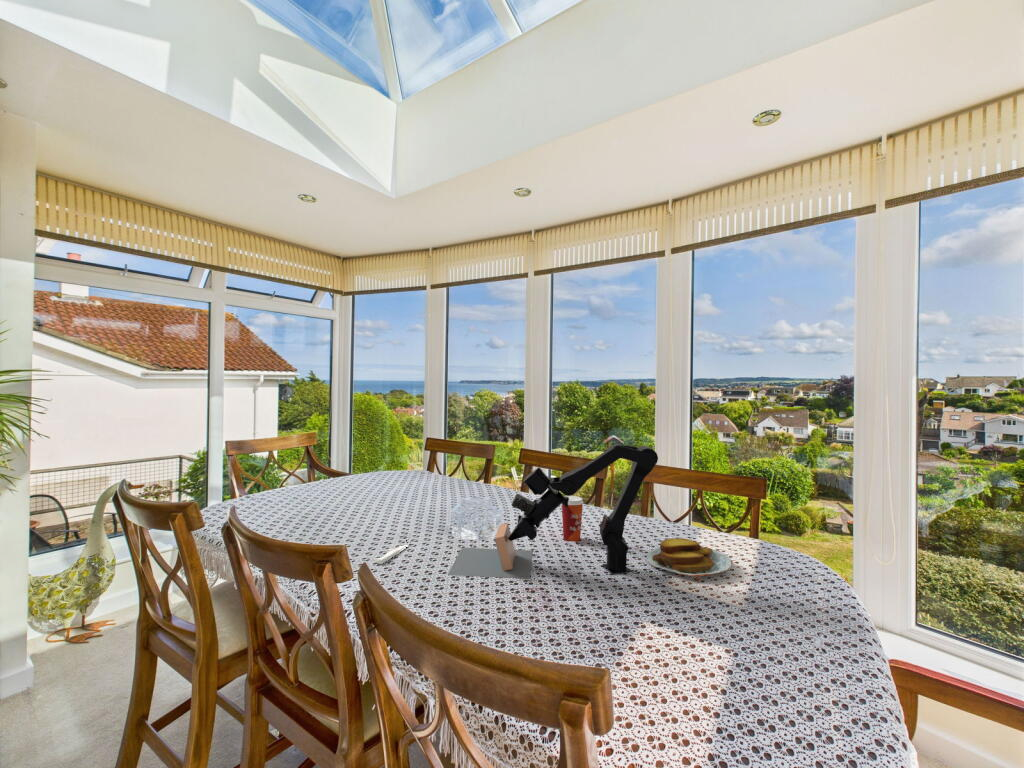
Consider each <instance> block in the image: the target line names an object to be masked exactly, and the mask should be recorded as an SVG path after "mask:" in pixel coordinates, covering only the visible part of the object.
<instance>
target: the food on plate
mask: <svg viewBox="0 0 1024 768" xmlns="http://www.w3.org/2000/svg"><path fill="white" fill-rule="evenodd" d="M645 556H646V560H647V563H649V564H650V565H652V566H653V567H654V568H655V567H657V568H659V569H661V570H666V571H669V572H673V573H676V574H679V575H681V576H682V575H683V576H688V577H690V578H691V577H696V579H695V581H697V582H700V578H701V577H706V576H713V575H715V574H718V573H720V574H721V573H723V572H726V574H728V570H729V569H730V568H732V567H733V566H734V564H733V560H731V558H730V557H729V556H728V554H724V553H723V552H720V551H717V549H713V548H710V547H704V546H701V545H700V543H699V542H697V541H695V540H691V539H688V538H678V537H674V538H666V539H664V540H662V541H661V542H660V544H659V546H657V547H654V548H652V549H650V550H649V551H648V552H647V553H646V555H645ZM665 567H666V568H665Z"/></svg>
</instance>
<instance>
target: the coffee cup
mask: <svg viewBox="0 0 1024 768" xmlns="http://www.w3.org/2000/svg"><path fill="white" fill-rule="evenodd" d="M564 496H565V497H569V500H568V507H566V506H565V505H564V504H563V503H562V504H561V514H562V515H561V516H562V517H561V518H562V535H563V541H564V542H575V543H578V542H580V541H581V534H582V532H581V531H582V522H583V521H582V519H583V505H584V503H585V502H584V501H583V497H581V496H577V495H571V496H568V495H564Z"/></svg>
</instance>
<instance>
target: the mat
mask: <svg viewBox="0 0 1024 768" xmlns="http://www.w3.org/2000/svg"><path fill="white" fill-rule="evenodd" d="M533 551H534V550H533V549H532V550H527V549H515V552H516V554H515V559H514V564H513V569H510V570H506V571H503V569H502V566H501V562H500V558H499V554H498V550H497V548H479V547H461V548H460V550H459V553H458V554H457V556H456V558H455V560H454V562H453V564H452V566H451V567H450V569H449V571H448V574H447V576H458V577H460V576H461V577H477V578H478V577H481V578H499V579H500V578H504V579H525V580H526V579H527V580H530V579H531V573H532V562H533V554H534V553H533Z"/></svg>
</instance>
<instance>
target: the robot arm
mask: <svg viewBox="0 0 1024 768" xmlns="http://www.w3.org/2000/svg"><path fill="white" fill-rule="evenodd" d="M619 459H624V460H626V461H630V462H632V463H631V470H630V474H628V477H627V480H626V482H625V484H624V487H623V488H622V490H621V493H620V495H619V497H618V499H617V502H616V503H615V505H614V508H613V510H612V512H611V513H610V514H609V515H606V514H603V517H602V520H601V522H600V524H598V527H599V534H600V537H601V540H602V542H603V544H604V545H605V546H606V563H603V564H602V565H601V566H602V568H604V569H605V570H606V571H608V572H609V573H610V574H612V575H617V574H623V573H630V572H632V570H631V568H629V567H628V566H627V562H628V561H627V558H628V556H627V555H628V552H629V549H630V548H629V546H628V543H627V542H626V539H625V538H624V536H623V535H624V531H625V530H624V529H625V521H626V518H627V516H628V514H629V512H630V510H631V508H632V506H633V504H634V501H635V499H636V497H637V495H638V493H639V491H640V488H641V486H642V484H643V482H644V479H645V478H646V477H647V476H648V475H649V474H650V473H651V472H652V470H653V469H654V468H655V467H656V465H657V463H658V461H659V456H658V453H657V452H656V450H654V449H652V448H651V447H650V446H648V445H640V446H631V445H624V444H620V443H614V444H613V445H611V447H609V448H608V449H605V451H604V452H602V453H601V454H599V455H598V456H596V457H594V458H593V459H590V461H589V462H587V463H586V464H583V465H582V466H581V467H578V468H575V469H572V470H570V471H567V472H565V473H562V474H561V475H560V476H556V477H549V476H548V475H547V474H546V473H545V472H544V471H543V469H542V468H541V467H540V466H537V468H536V469H533V470H532V471H531V472H529V474H528V475H527V476H526V477H525V478H524V479H523V480H522V483H523V484H524V485H525V486H527V488H528V489H529V490H530V491H531V492H532V494H534V495H535V496H536V495H538V496H540V497H539V498H538V499H537V498H536V499H534V500H533V501H532V500H531V499H529V498H527V497H525V496H523V495H521V494H519V493H516V494H515V496H514V498H513V500H512V502H511V506H512V507H513V508H514V509H518V510H519V511H520V512H523V514H522V515H521V514H518V519H517V524H516V526H515V527H514V529H513V530H512V532H510V533H511V534H510V536H509V538H508V539H509V540H510V541H512V540H513V541H515V540H518V539H521V538H525V537H527V538H528V539H529V540H530V541H533V540H535V538H537V535H538V528H539V527H540V526H541V524H542V523H543V521H545V519H549V518H550V516H551V514H552V513H553V512H554V511H555V510H557V509H558V507H560V506H561V505H562V503H563V504H564V505H565V506H566V507H568V500H569V497H565V496H574V495H575V494H576V493H577V492H578V491H579V490H580V489H581V488H582V487H583V486H584V485H585V484H586V483H587V481H589V480H590V479H591V478H592V477H595V476H596V475H597V474H598V473H600V472H602V471H603V470H604V469H606V468H608V467H609V466H611V465H612V464H613V463H615V462H617V461H618V460H619Z"/></svg>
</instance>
